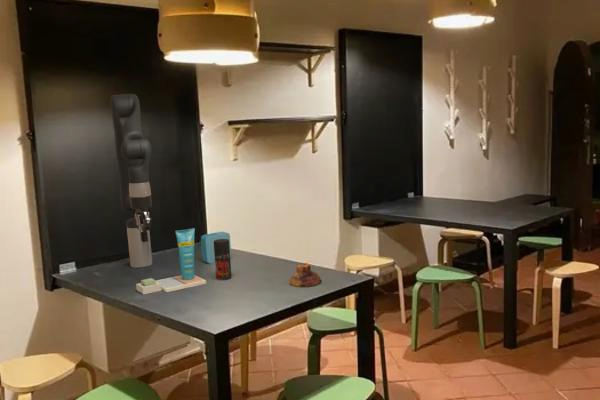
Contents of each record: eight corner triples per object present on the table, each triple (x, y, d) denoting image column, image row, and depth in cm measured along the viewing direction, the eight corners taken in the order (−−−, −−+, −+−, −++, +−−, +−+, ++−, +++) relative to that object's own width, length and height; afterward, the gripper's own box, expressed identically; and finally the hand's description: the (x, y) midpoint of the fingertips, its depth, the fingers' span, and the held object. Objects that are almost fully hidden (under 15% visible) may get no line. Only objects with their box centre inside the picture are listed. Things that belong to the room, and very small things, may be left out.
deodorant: (213, 278, 246) (210, 241, 244) (224, 275, 251) (222, 238, 248) (223, 281, 242) (220, 242, 240) (234, 277, 247) (232, 239, 244)
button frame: (136, 290, 236) (136, 283, 236) (154, 286, 240) (154, 280, 240) (143, 294, 230) (142, 287, 230) (161, 290, 234) (161, 283, 234)
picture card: (152, 284, 243) (152, 281, 243) (191, 276, 252) (190, 273, 252) (166, 292, 232) (166, 288, 231) (206, 283, 240) (206, 280, 240)
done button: (141, 286, 235) (141, 280, 235) (151, 284, 238) (151, 278, 237) (145, 288, 232) (144, 282, 232) (155, 286, 234) (155, 280, 234)
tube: (181, 281, 240) (178, 231, 237) (176, 279, 244) (173, 230, 241) (199, 278, 244) (196, 228, 241) (194, 275, 248) (191, 227, 245)
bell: (298, 289, 227) (296, 270, 226) (284, 282, 237) (283, 263, 236) (326, 284, 231) (325, 265, 230) (312, 277, 242) (311, 258, 241)
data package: (226, 257, 281) (224, 230, 279) (231, 259, 277) (229, 232, 276) (202, 262, 274) (200, 235, 272) (207, 264, 270) (205, 236, 268)
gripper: (124, 194, 233) (128, 240, 236) (136, 197, 222) (140, 245, 225) (143, 192, 237) (148, 237, 240) (156, 195, 226) (161, 242, 229)
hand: (144, 241), depth 232 cm, fingers closed
